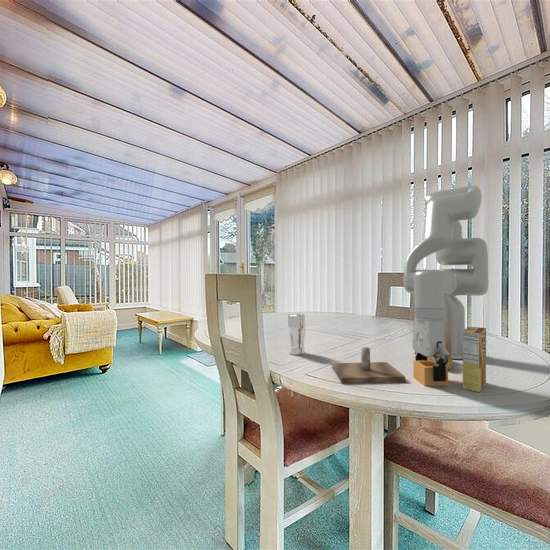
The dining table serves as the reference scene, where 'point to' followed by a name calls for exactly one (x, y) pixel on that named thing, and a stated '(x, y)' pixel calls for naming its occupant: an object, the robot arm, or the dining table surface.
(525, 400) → the dining table surface
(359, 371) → the post board
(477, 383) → the candy box
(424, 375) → the collar
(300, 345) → the beer glass
